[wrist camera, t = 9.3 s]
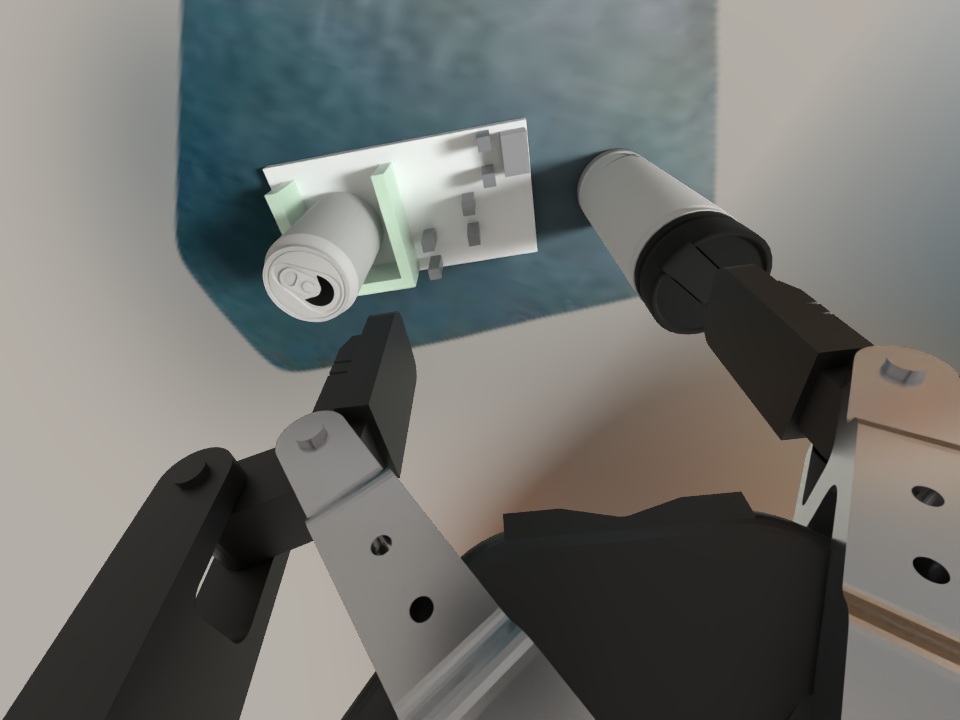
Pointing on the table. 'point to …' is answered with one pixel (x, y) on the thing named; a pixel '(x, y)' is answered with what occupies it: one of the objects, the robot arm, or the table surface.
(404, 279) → the end holder
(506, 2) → the table surface
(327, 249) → the beverage can
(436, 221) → the board
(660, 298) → the travel mug
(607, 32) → the table surface
